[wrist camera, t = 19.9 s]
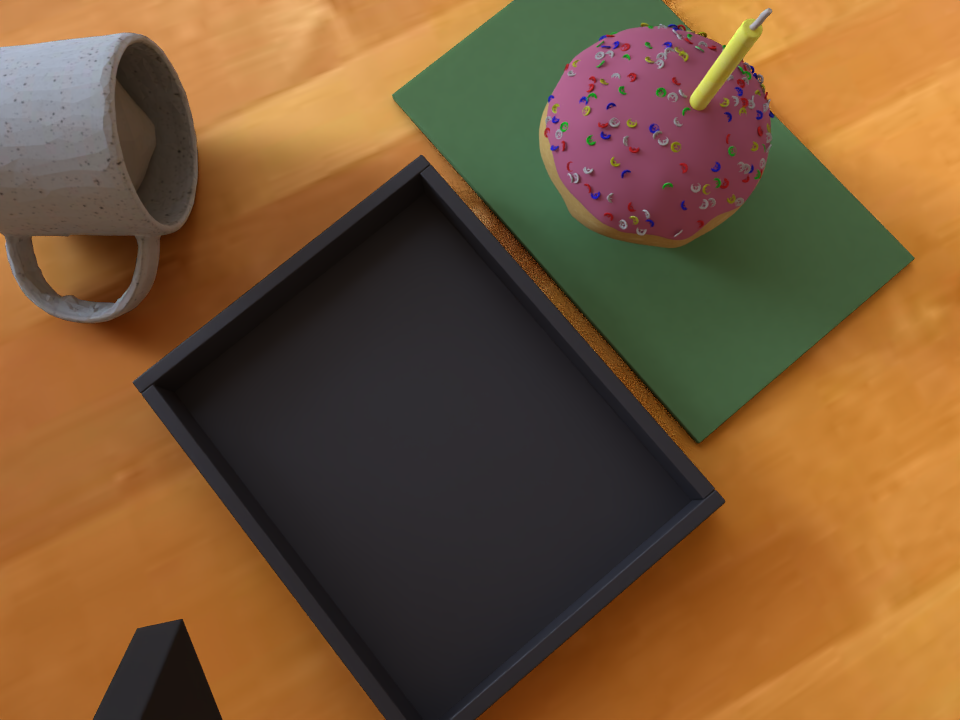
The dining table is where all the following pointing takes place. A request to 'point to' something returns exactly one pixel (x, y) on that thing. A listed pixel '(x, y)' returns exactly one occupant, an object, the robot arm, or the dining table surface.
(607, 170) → the cupcake
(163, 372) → the baking pan
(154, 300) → the dining table surface
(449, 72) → the green cloth
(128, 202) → the ceramic mug
